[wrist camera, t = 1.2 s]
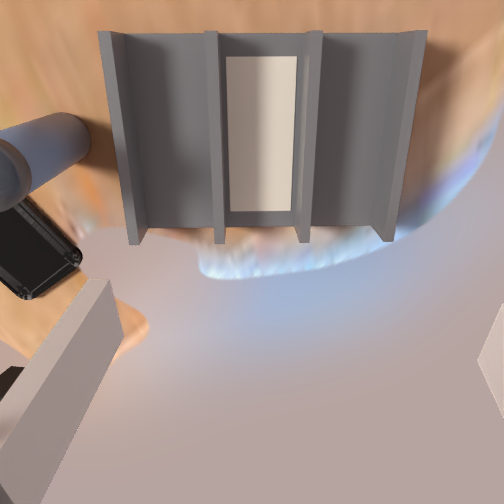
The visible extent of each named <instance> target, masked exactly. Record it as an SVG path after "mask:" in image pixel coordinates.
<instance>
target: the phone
mask: <svg viewBox="0 0 504 504" xmlns="http://www.w3.org/2000/svg"><path fill="white" fill-rule="evenodd" d="M82 259H83V255H82V252H81V250H80V249H79V248H78V247H76V248H75V247H74V246H73V245H72V244H71V243H70V242H69V241H68V240H67V239H66V238H65V237H64V236H63V235H62V234H61V233H60V232H59V231H58V230H57V229H56V228H55V227H54V226H53V225H52V223H51V222H50V221H49V220H48V219H47V218H46V217H45V216H44V215H43V214H42V213H41V212H40V211H39V210H38V209H37V208H36V207H35V206H34V205H33V204H32V203H31V202H30V201H29V200H28V199H27V198H26V197H25V198H24V199H23V200H22V201H20V202H19V203H17V204H16V205H14V206H13V207H11V208H10V209H8V210H6V211H3V212H0V281H1V282H2V283H3V284H4V285H5V286H7V287H8V288H9V289H10V290H11V291H12V292H13V293H14V294H16V295H17V296H18V297H20V298H21V299H24V300H32V299H34V298H36V297H37V296H38V295H40V294H41V293H43V292H44V291H45V290H47V289H48V288H50V287H51V286H53V285H54V284H55V283H57V282H58V281H60V280H61V279H62V278H64V277H65V276H67V275H68V274H69V273H71V272H72V271H74V270H75V269H76V268H77V267H78V266H79V264H80V263H81V262H82Z"/></svg>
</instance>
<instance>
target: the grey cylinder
mask: <svg viewBox="0 0 504 504" xmlns="http://www.w3.org/2000/svg"><path fill="white" fill-rule="evenodd" d="M90 146H91V137H90V134H89V131H88V129H87V127H86V126H85V124H84V123H83V122H82V121H81V120H80V119H78V118H77V117H75V116H74V115H71V114H68V113H62V112H60V113H54V114H51V115H48V116H45V117H42V118H38V119H35V120H32V121H29V122H26V123H23V124H19V125H16V126H13V127H10V128H7V129H3V130H0V212H3V211H6V210H8V209H10V208H11V207H13V206H14V205H16V204H17V203H19V202H20V201H22V200H23V199H24V198H25V197H26V196H27V195H28V194H29V193H31V192H32V191H34V190H35V189H37V188H38V187H40V186H41V185H43V184H45V183H46V182H48V181H49V180H51V179H52V178H54V177H55V176H57V175H58V174H60V173H61V172H63V171H64V170H66V169H67V168H69V167H70V166H72V165H74V164H75V163H77V162H78V161H80V160H81V159H83V158H84V157H85V156H86V155H87V154H88V152H89V150H90Z"/></svg>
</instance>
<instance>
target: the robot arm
mask: <svg viewBox="0 0 504 504" xmlns="http://www.w3.org/2000/svg"><path fill="white" fill-rule="evenodd" d="M123 337H124V334H123V330H122V326H121V322H120V318H119V314H118V310H117V306H116V302H115V299H114V295H113V291H112V287H111V283H110V280H108V279H92V278H89V279H88V280H87V281H86V283H85V284H84V286H83V287H82V288H81V290H80V291H79V293H78V294H77V295H76V297H75V298H74V300H73V301H72V302H71V304H70V305H69V306H68V308H67V309H66V311H65V312H64V313H63V315H62V316H61V318H60V319H59V320H58V322H57V323H56V325H55V326H54V327H53V329H52V330H51V332H50V333H49V334H48V336H47V337H46V339H45V340H44V341H43V343H42V344H41V346H40V347H39V348H38V350H37V351H36V353H35V354H34V355H33V357H32V358H31V360H30V361H29V363H28V364H27V365H26V367H14V366H11V367H10V368H8V369H7V370H6V371H4V372H3V373H2V374H1V375H0V504H40V503H41V501H42V499H43V497H44V495H45V493H46V491H47V489H48V487H49V484H50V483H51V481H52V479H53V477H54V475H55V473H56V471H57V469H58V467H59V465H60V463H61V461H62V459H63V457H64V455H65V453H66V450H67V449H68V447H69V445H70V443H71V441H72V439H73V437H74V434H75V433H76V431H77V429H78V427H79V425H80V422H81V421H82V419H83V417H84V415H85V413H86V411H87V409H88V407H89V405H90V403H91V401H92V399H93V397H94V395H95V393H96V391H97V389H98V387H99V385H100V383H101V381H102V379H103V377H104V375H105V373H106V371H107V369H108V367H109V365H110V363H111V361H112V359H113V357H114V355H115V353H116V351H117V349H118V347H119V345H120V343H121V341H122V339H123ZM477 362H478V364H479V366H480V369H481V370H482V373H483V375H484V377H485V379H486V382H487V384H488V386H489V388H490V390H491V393H492V395H493V397H494V399H495V401H496V403H497V406H498V408H499V410H500V412H501V415H502V417H503V419H504V303H502V306H501V308H500V310H499V312H498V315H497V317H496V319H495V321H494V324H493V326H492V328H491V330H490V333H489V335H488V337H487V340H486V342H485V344H484V347H483V349H482V351H481V353H480V355H479V358H478V360H477Z"/></svg>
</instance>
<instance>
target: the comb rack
mask: <svg viewBox="0 0 504 504" xmlns="http://www.w3.org/2000/svg"><path fill="white" fill-rule="evenodd" d="M97 32H98V39H99V45H100V52H101V59H102V65H103V72H104V79H105V86H106V92H107V99H108V106H109V112H110V119H111V126H112V133H113V139H114V146H115V153H116V159H117V166H118V173H119V180H120V186H121V193H122V200H123V206H124V213H125V220H126V227H127V233H128V239H129V245H140V243H141V241H142V239H143V237H144V235H145V234H146V232H147V230H148V228H203V227H214V239H215V244H225V235H226V227H284V226H294V227H295V230H296V233H297V237H298V240H299V243H309V241H310V226H365V225H371V226H372V227H373V229H374V230H375V231H376V233H377V234H378V235H379V237H380V238H381V239H382V241H383V242H393V241H394V234H395V228H396V222H397V216H398V210H399V204H400V198H401V192H402V186H403V179H404V173H405V167H406V161H407V155H408V149H409V143H410V137H411V130H412V124H413V118H414V112H415V106H416V100H417V94H418V88H419V82H420V75H421V69H422V63H423V57H424V51H425V45H426V39H427V33H428V30H415V31H408V32H401V33H323V31H308V32H305V33H219V32H218V31H205V33H191V34H123V33H118V32H112V31H97Z"/></svg>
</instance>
